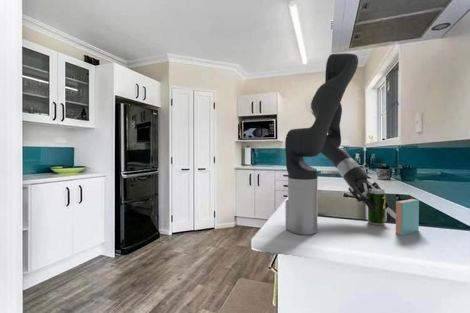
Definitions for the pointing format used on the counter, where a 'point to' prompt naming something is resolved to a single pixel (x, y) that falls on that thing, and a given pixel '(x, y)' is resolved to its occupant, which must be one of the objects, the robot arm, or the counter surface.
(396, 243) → the counter surface
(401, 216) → the tile
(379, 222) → the beer can
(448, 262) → the counter surface
